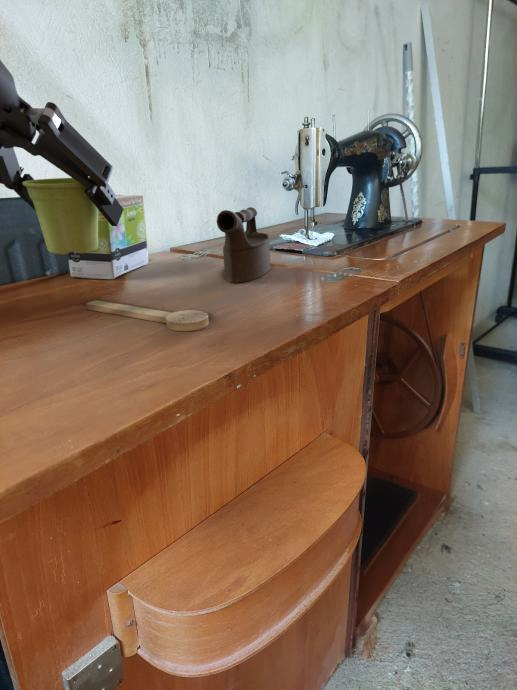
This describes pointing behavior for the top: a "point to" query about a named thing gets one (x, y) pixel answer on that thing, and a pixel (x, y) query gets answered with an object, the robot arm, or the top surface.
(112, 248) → the tea box
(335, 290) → the top surface
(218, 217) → the clothes iron
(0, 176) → the robot arm
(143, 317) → the spoon
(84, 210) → the plant pot
